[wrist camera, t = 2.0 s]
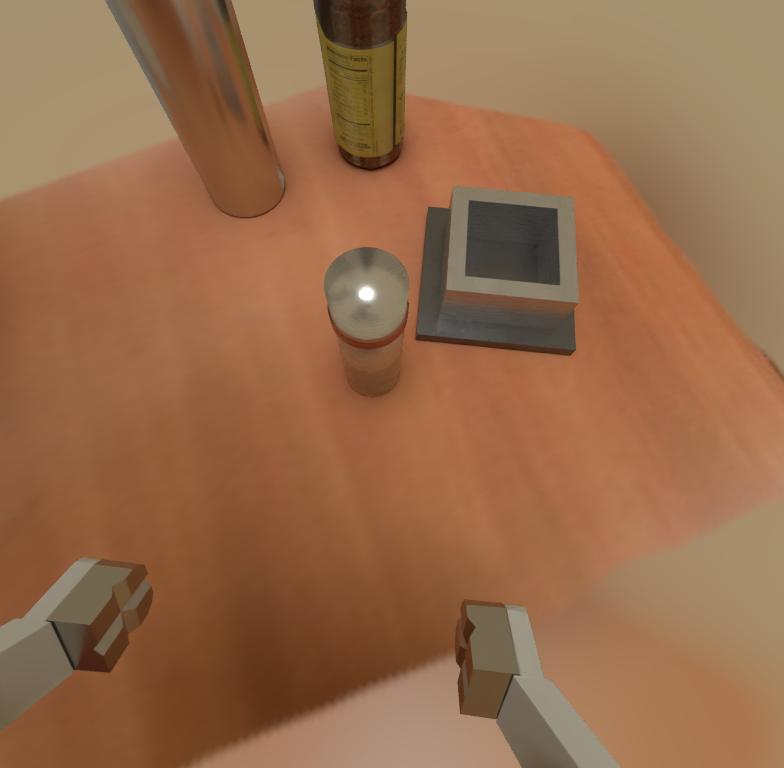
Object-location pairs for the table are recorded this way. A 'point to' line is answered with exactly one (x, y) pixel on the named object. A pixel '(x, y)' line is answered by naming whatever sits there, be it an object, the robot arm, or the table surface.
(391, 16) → the sauce bottle
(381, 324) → the cylinder
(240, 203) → the silver piece
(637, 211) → the table surface
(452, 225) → the collar
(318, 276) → the table surface
